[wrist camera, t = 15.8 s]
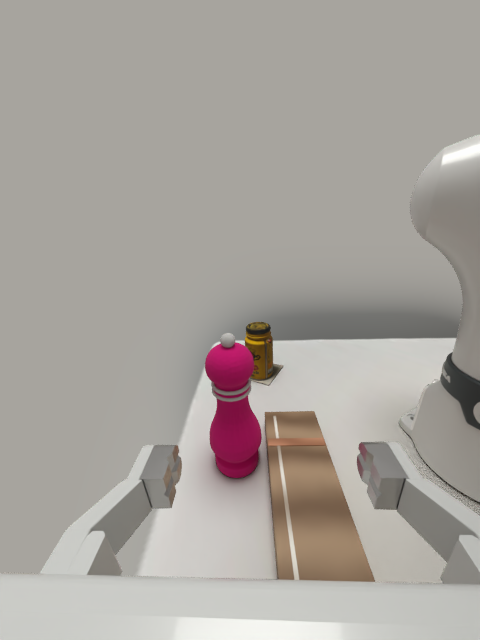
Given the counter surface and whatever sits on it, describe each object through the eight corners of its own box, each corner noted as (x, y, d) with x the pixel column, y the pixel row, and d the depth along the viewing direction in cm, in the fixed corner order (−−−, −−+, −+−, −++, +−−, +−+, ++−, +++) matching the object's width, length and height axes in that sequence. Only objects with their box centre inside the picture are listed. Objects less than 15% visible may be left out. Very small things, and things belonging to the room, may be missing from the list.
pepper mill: (271, 453, 35) (270, 329, 28) (241, 493, 30) (229, 354, 23) (234, 430, 40) (225, 318, 33) (202, 462, 34) (183, 337, 27)
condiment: (239, 377, 54) (236, 328, 50) (256, 360, 61) (255, 316, 57) (268, 386, 51) (267, 334, 46) (283, 366, 57) (283, 320, 53)
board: (265, 426, 40) (264, 411, 39) (313, 425, 40) (314, 410, 39) (294, 792, 14) (296, 779, 13) (436, 802, 14) (450, 789, 12)
